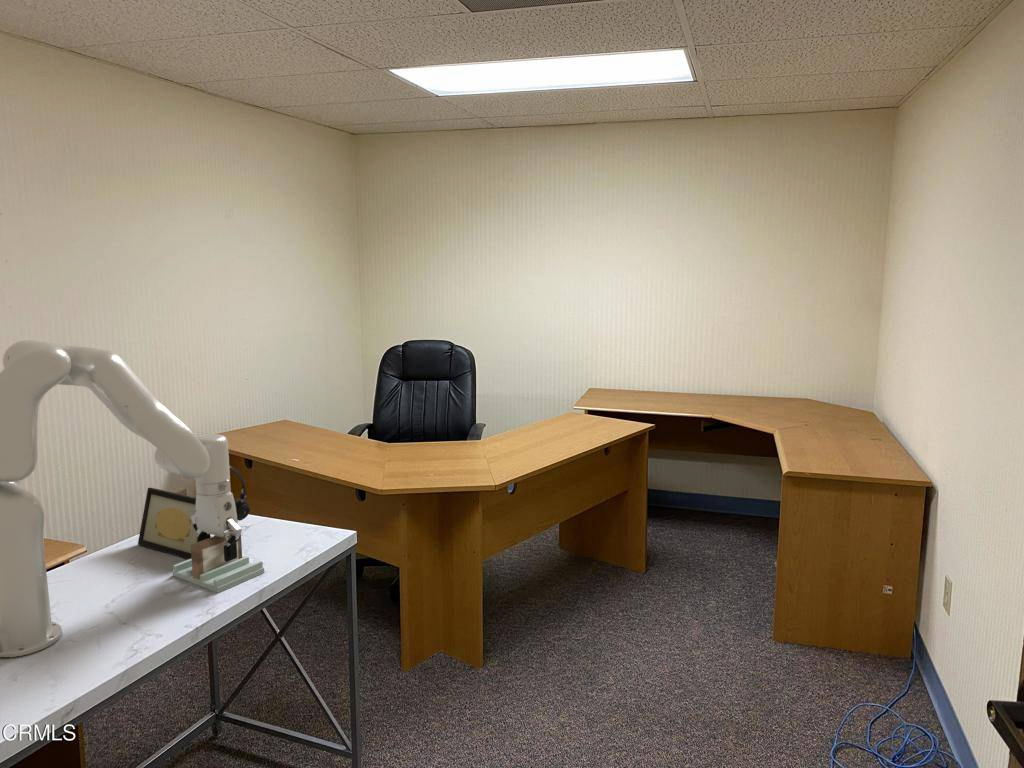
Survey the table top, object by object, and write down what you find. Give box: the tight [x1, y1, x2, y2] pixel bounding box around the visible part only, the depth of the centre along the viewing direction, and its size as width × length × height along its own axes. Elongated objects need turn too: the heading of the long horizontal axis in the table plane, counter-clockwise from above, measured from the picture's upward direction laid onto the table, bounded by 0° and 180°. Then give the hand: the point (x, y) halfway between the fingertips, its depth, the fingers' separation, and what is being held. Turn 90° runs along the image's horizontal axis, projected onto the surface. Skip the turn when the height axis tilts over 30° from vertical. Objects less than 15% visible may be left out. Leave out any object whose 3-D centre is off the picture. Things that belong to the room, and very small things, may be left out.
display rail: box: [172, 556, 265, 594], centre depth 178 cm, size 13×17×3 cm
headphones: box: [229, 464, 251, 522], centre depth 202 cm, size 15×11×20 cm
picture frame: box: [137, 487, 199, 560], centre depth 193 cm, size 23×9×15 cm, turn 62°
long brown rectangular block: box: [191, 533, 243, 579], centre depth 177 cm, size 12×3×8 cm, turn 147°
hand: (217, 555), depth 177 cm, fingers open, 9 cm apart
